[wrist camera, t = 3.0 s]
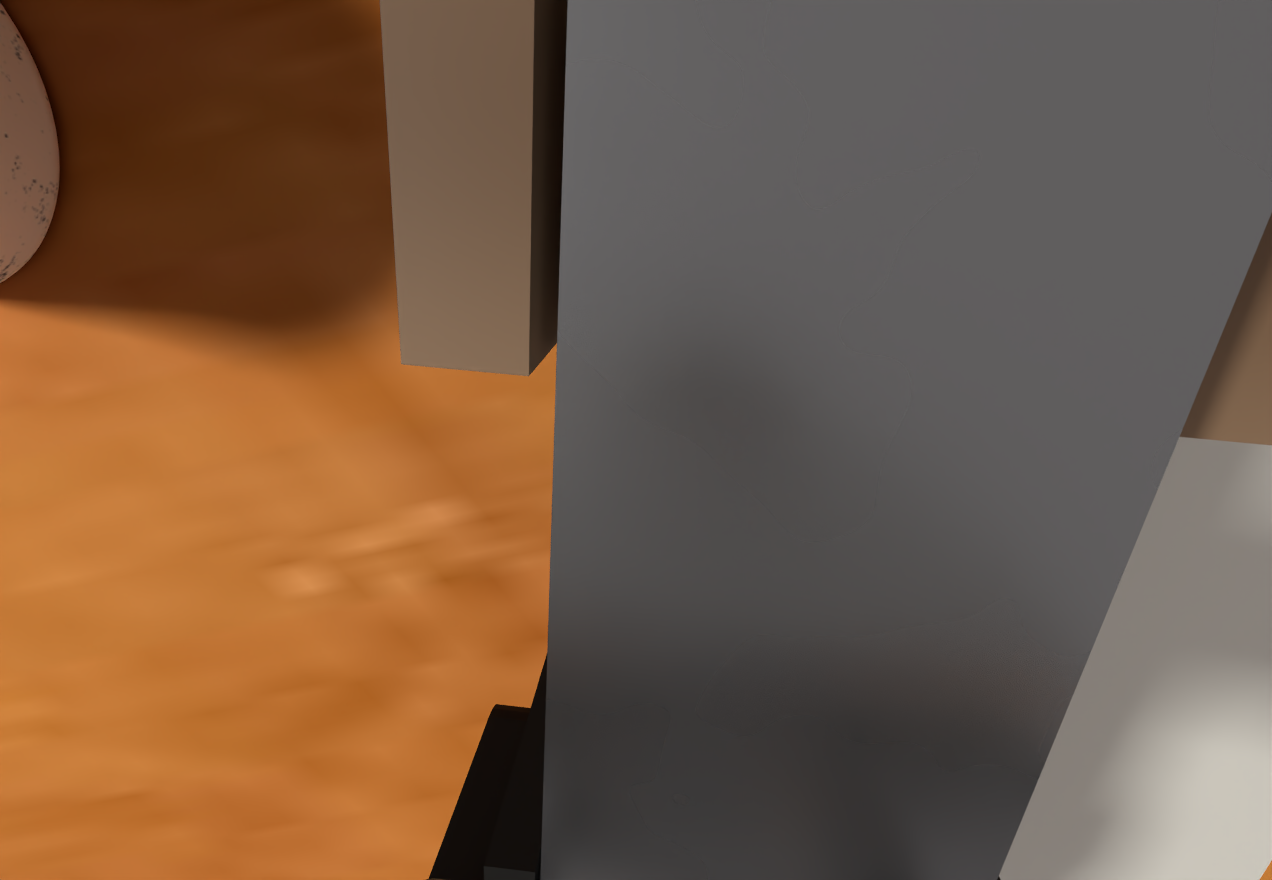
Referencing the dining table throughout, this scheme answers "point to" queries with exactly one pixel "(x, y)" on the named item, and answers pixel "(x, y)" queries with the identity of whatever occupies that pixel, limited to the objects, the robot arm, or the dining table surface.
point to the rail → (867, 406)
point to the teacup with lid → (24, 153)
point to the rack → (532, 194)
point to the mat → (1172, 696)
